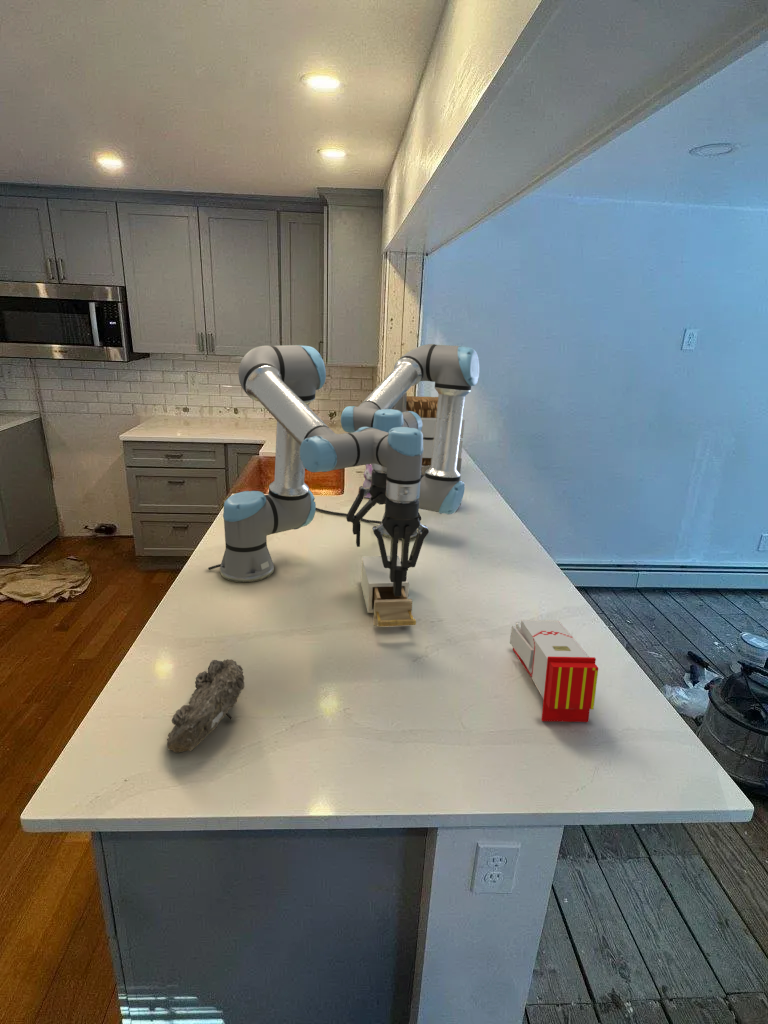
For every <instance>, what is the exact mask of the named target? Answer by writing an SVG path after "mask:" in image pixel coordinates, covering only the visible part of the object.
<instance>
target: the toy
mask: <svg viewBox="0 0 768 1024" xmlns="http://www.w3.org/2000/svg"><path fill="white" fill-rule="evenodd" d="M510 630H511V631H510V638H509V644H510V646H511V647H512V651H513V653H514V654H515V656H516V657H517V659H518V660H519V662H520V663H521V665H522V667H523V668H524V669H525V671H526V672H527V674H528V675H529V676H530V678H531V680H532V681H533V683H534V685H535V687H536V688H537V690H538V692H539V694H540V696H541V698H542V699H543V701H542V709H541V719H540V720H541V722H564V723H566V722H567V723H568V722H570V723H572V722H573V723H576V722H577V723H589V720H590V719H589V718H590V711H591V710H594V708H595V699H596V692H597V683H598V681H597V680H598V675H599V674H598V673H599V667H598V666H597V664H596V662H597V661H596V660H597V657H595V656H594V657H593V656H589V655H588V653H586V651H585V650H584V649H583V648H582V646H581V645H580V644H579V643H578V641H577V640H575V638H574V636H572V634H571V633H570V632H569V630H568V629H566V627H565V626H564V625H563V624H562V623H561V621H560V620H553V619H551V620H550V619H549V620H548V619H547V620H546V619H521V620H520V621H519V622H515V625H511V629H510Z"/></svg>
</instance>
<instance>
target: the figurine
mask: <svg viewBox="0 0 768 1024" xmlns="http://www.w3.org/2000/svg"><path fill="white" fill-rule="evenodd" d="M372 470H373V468H372V464H367V465H365V470H364V472H363V477H364V481H363V482H362V486H363V488H370V487H371V476H372ZM371 497H372V496H371V494H370V493H367V495H366V496H364V497H363V498H366V499H370V498H371Z"/></svg>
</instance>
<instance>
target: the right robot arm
mask: <svg viewBox="0 0 768 1024" xmlns="http://www.w3.org/2000/svg"><path fill="white" fill-rule="evenodd" d="M479 378H480V359H479V356H478V353H477V351H476V350H475V349H474V348H473V347H470V346H464V345H451V344H450V345H449V344H436V343H435V344H434V343H429V344H422V345H420V346H417V347H415V348H412V349H411V350H410V351H407V352H406V353H404V354H403V355H402V356H401V357H399V359H398V360H397V361H396V362H395V363H394V365H393V369H392V371H391V372H390V373H389V374H388V375H387V376H386V377H385V378H384V379H383V380H382V381H381V382H380V383H379V384H378V385H377V386H376V387H375V388H374V389H373V390H372V392H370V394H368V396H367V397H366V398H364V400H363V401H362V402H361V403H359V405H358V406H356V405H348V406H346V407H345V408H343V410H342V412H341V415H340V424H341V428H342V430H343V431H344V433H352V432H355V431H356V430H358V429H359V428H361V427H370V428H371V427H373V428H376V429H379V430H381V431H384V432H388V433H389V431H390V429H392V428H395V427H409V428H415V429H418V430H420V431H421V430H422V420H421V418H420V416H419V415H418V414H417V413H415V412H412V411H405V412H401V411H399V410H393V409H392V408H393V406H394V405H395V404H396V403H397V402H398V401H399V400H400V398H401V397H402V396H403V395H404V394H405V393H407V392H409V390H410V389H411V387H415V386H416V385H418V384H419V383H420V382H432V383H434V389H435V391H436V393H437V395H438V396H437V397H438V404H437V413H436V422H435V431H434V440H433V449H432V459H431V465H430V466H429V468H427V469H426V470H425V471H424V472H425V473H424V474H422V471H421V481H420V497H419V498H418V500H419V510H423V511H428V512H434V513H437V514H440V515H442V514H444V515H453V514H454V513H456V512H457V510H458V509H459V508H460V506H461V505H462V502H463V498H464V495H465V489H466V487H465V482H464V481H462V480H461V474H459V472H458V471H457V469H456V468H457V460H458V452H459V443H460V439H461V438H460V435H461V427H462V419H464V408H465V403H466V402H465V401H466V397H467V395H468V394H470V393H471V392H472V387H474V386H476V385H477V384H478V382H479ZM372 468H373V470H372V476H371V487H370V488H363V485H360V486H359V487H358V493H357V495H356V497H355V499H354V501H353V502H352V504H351V506H350V508H349V510H348V511H347V513H345V512H336V511H332V510H331V511H330V510H326V509H322V508H319V507H316V510H315V511H317V512H320V513H325V514H330V515H334V516H335V515H336V516H342V517H345V519H346V521H347V522H348V523H351V524H352V534H353V535H355V536H356V537H355V544H356V547H357V548H360V547H361V527H362V526H361V521H362V522H365V523H368V524H369V523H371V524H379V525H380V524H382V520H383V519H384V516H385V512H384V513H383V515H382V519H381V520H372V519H367V518H364V517H365V516H366V515H367V513H368V512H370V510H371V509H372V508H373V507H375V506H376V505H377V504H378V505H379V506H381V505H385V500H386V498H387V497H386V480H387V479H386V476H387V468H386V467H383V466H381V465H378V464H372ZM367 493H370V494H371V496H372V497H371V498H368V500H367V502H366V503H365V504H364V505H363V506H362V507H361V508H360V509H359V507H360V505H361V504H362V502H363V500H364V498H365V497H364V496H366V495H367ZM460 504H461V505H460ZM358 509H359V510H358ZM418 519H419V521H420V524H422V523H421V521H422V517H421V515H420V512H419V513H418ZM417 529H418V528H417ZM417 529H416V531H415V532H414V533H413V534H412V536H411V537H410V541H411V540H415V538H416V535H417V533H418V532H417ZM383 531H384V534H383V535H382V537H383V538H384V537H385V538H387V539H389V540H391V536H390V535H389V534H388V532H387V531H386V529H385V528H384V530H383ZM399 541H402V538H399Z"/></svg>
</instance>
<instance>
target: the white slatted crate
mask: <svg viewBox="0 0 768 1024" xmlns="http://www.w3.org/2000/svg"><path fill="white" fill-rule="evenodd" d="M407 394H408V393H407V392H406V393H405V394H404V395H403V396H402V397H401V398H400V400H399V401H398V402H397V403H396V404H395V405H394V406H393V408H392V409H393V410H399V411H401V412H405V411H412V412H415V413H417V414H418V415H419V416H420V418H421V420H422V430H421V432H422V434H423V449H424V450H423V455H422V467H431V459H432V449H433V440H434V431H435V422H436V413H437V404H438V396H415V395H414V396H413V395H412V396H411V395H407ZM464 429H465V419H464V418H463V419H462V427H461V435H460V443H459V452H458V460H457V468H456V469H457V471H458V472H459V474H460V475H461V472H462V461H463V460H462V453H463V442H464V441H463V440H462V439H463V438H464V431H465V430H464Z"/></svg>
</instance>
